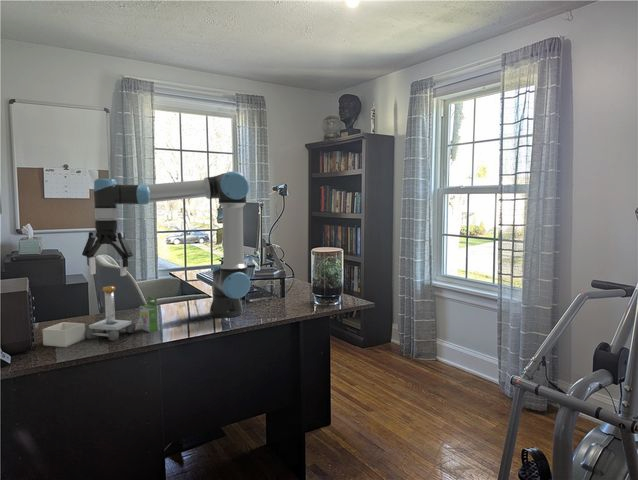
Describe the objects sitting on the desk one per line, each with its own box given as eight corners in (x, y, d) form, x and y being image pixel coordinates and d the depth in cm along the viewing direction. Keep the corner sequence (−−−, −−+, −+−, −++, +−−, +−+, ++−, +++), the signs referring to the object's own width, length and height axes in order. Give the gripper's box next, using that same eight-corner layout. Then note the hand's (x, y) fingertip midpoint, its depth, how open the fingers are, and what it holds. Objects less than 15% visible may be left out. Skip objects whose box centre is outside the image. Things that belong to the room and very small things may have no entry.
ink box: (140, 329, 179) (139, 297, 178) (149, 327, 182) (148, 295, 181) (149, 332, 175) (147, 299, 174) (158, 330, 178) (157, 297, 177)
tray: (85, 339, 167) (84, 323, 166) (66, 347, 157) (65, 330, 157) (63, 337, 169) (63, 322, 168) (43, 345, 159) (42, 329, 159)
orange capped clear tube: (119, 334, 172) (117, 286, 171) (112, 337, 168) (110, 288, 167) (109, 333, 173) (107, 285, 172) (102, 337, 169) (100, 287, 167)
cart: (135, 331, 176) (135, 319, 176) (112, 342, 163) (112, 328, 162) (109, 329, 179) (108, 317, 178) (84, 340, 165) (84, 327, 165)
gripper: (141, 219, 168) (142, 274, 170) (84, 219, 173) (86, 272, 175) (129, 220, 161) (130, 277, 162) (70, 219, 166) (72, 275, 168)
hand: (107, 274), depth 169 cm, fingers open, 13 cm apart
